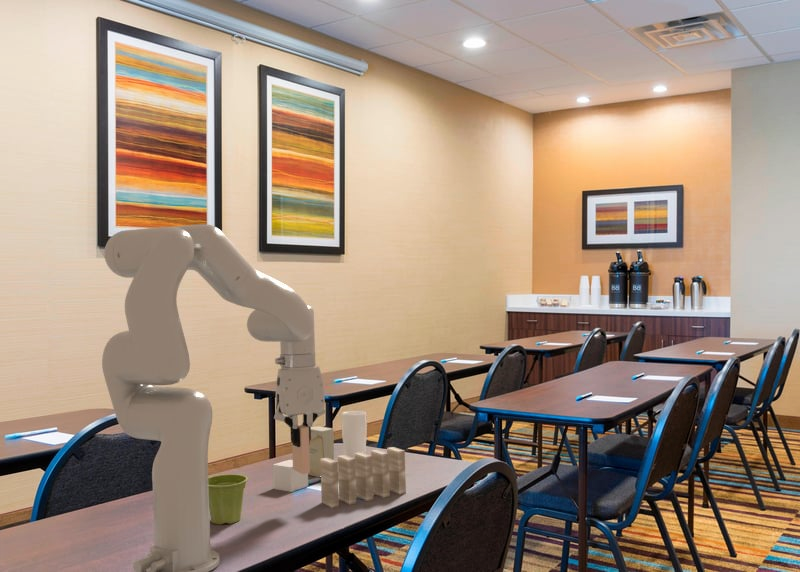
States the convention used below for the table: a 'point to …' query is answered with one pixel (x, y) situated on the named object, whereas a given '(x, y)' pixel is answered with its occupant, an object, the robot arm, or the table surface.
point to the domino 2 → (329, 482)
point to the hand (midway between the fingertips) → (301, 444)
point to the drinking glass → (354, 432)
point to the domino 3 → (347, 479)
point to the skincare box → (320, 448)
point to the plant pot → (226, 497)
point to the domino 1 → (302, 452)
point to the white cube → (288, 477)
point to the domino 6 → (397, 470)
